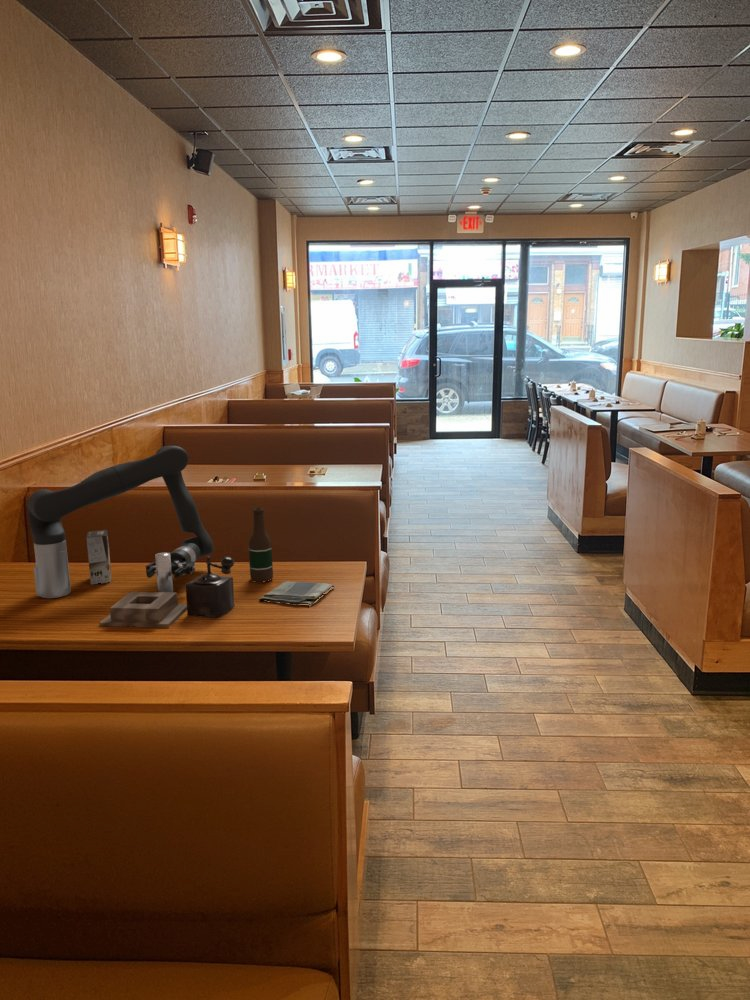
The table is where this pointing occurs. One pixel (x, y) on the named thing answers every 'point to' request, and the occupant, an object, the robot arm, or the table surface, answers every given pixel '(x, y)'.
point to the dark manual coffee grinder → (211, 591)
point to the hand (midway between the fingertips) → (162, 575)
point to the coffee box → (98, 556)
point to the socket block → (145, 610)
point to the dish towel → (297, 592)
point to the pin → (164, 572)
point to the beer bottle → (260, 550)
